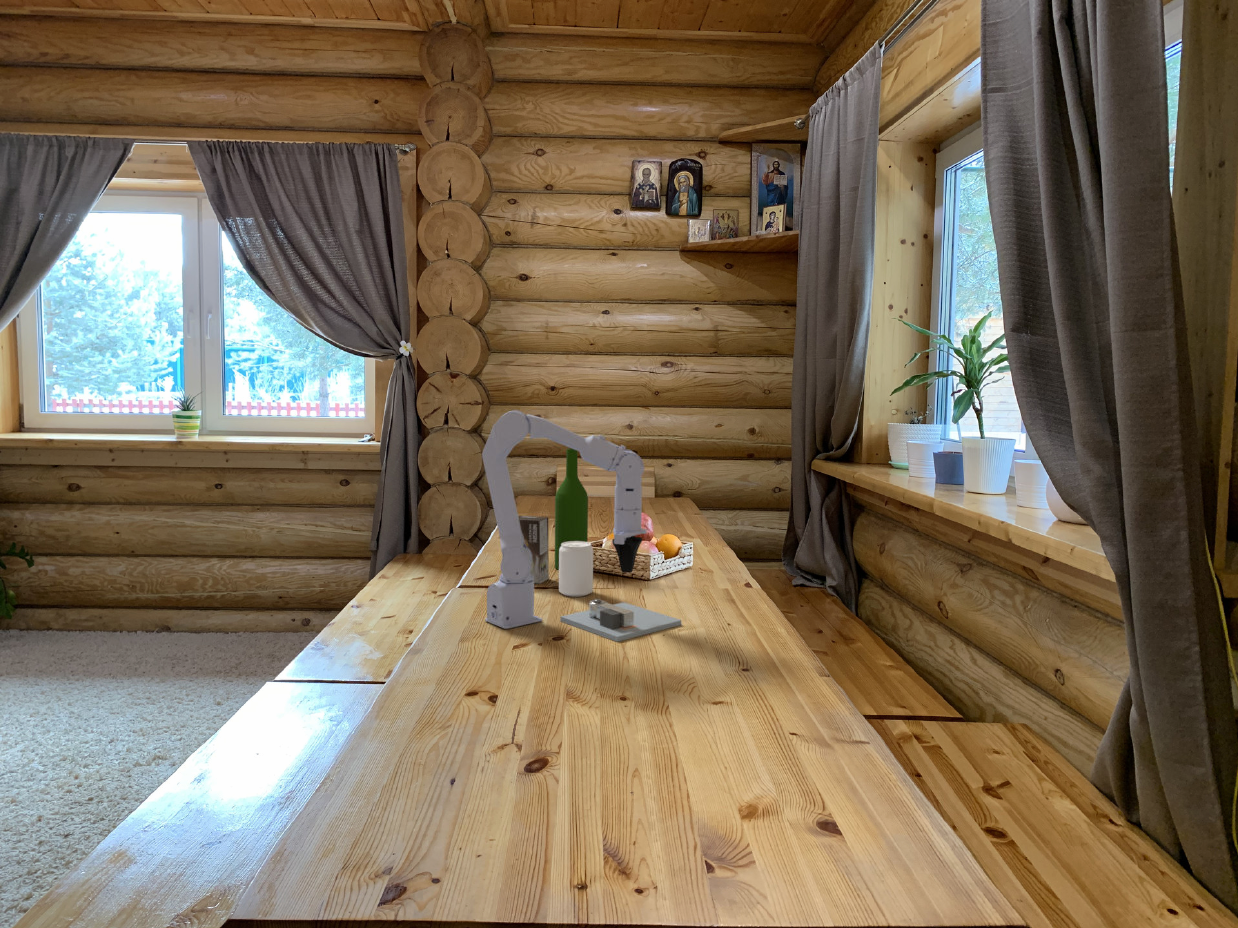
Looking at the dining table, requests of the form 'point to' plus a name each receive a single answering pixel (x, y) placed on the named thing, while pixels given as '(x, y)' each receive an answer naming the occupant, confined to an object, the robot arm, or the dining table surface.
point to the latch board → (620, 634)
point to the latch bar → (599, 605)
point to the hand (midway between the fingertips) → (627, 571)
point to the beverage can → (576, 568)
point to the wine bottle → (570, 507)
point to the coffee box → (537, 545)
